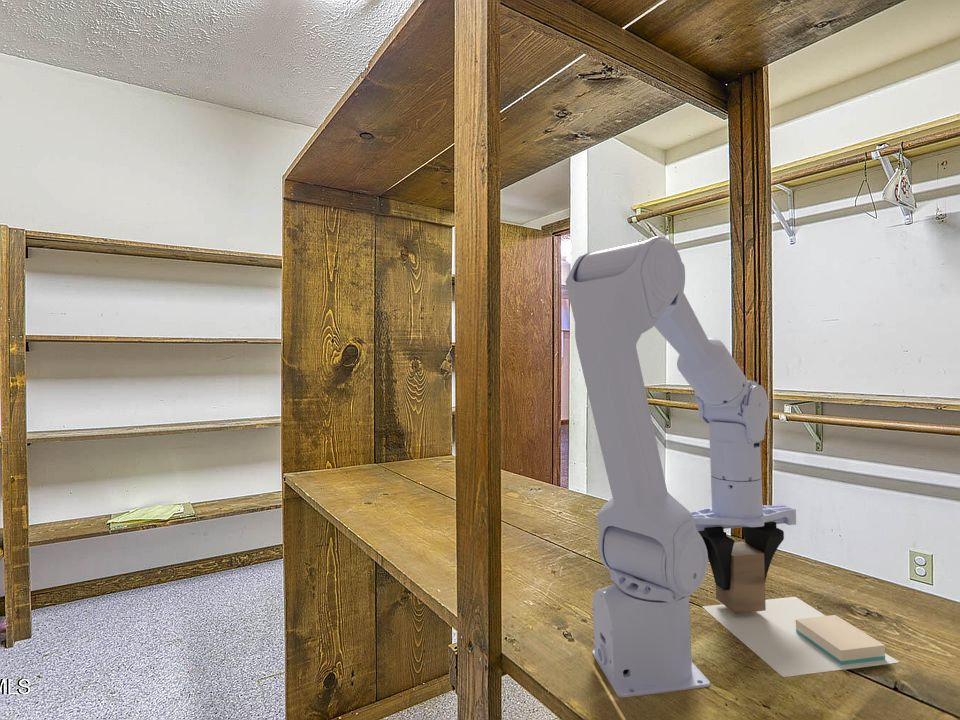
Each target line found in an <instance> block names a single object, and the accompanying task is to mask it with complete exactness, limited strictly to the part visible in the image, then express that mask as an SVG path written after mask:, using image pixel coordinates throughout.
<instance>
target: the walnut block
mask: <svg viewBox="0 0 960 720" xmlns="http://www.w3.org/2000/svg"><path fill="white" fill-rule="evenodd" d="M730 576H731V583H730V590H723V589H722V588H720V587H719V586H718V585H716V584H715V600H717V601H719V602H720V603H721V604H723V605H725V606H726V607H727V608H728V609H730V610H731V611H732V612H733V613H735V614H739V613H748V612H756V611H765V610H766V604H765V600H766V581H765V568H764V553H763V552H761V551H759V550H757V549H756V548H754V547H752V546H750V545H749V544H747V543H745V541H736V542H734V545H733V549H732V554H731V562H730Z"/></svg>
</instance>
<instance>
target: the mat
mask: <svg viewBox="0 0 960 720" xmlns="http://www.w3.org/2000/svg"><path fill="white" fill-rule="evenodd" d="M765 604H766V610H765V611H756V612H748V613H739V614H735V613H733V612H732V611H731V610H730V609H728V608H727V607H726V606H725V605H723V604H722V603H721V604H713V605H712V604H711V605H703V606H702V605H701V608H702V609H703V610H705V611H706V612H707V613H708V614H709V615H710V616H712V618H714V619H715V620H717V622H719V623H720V624H721V626H723V627H724V628H725V629H727V630H728V631H729V632H730V633H731V634H732V635H734V636H735V637H736V638H737V639H738V640H739V641H740V642H741V643H743V644H744V645H745V646H747V647H748V649H750V650H751V652H753V653H754V654H755V655H757V656H758V658H760V659H761V660H762V661H763V662H765V664H767V665H768V666H769V667H770V668H772V670H774V671H775V672H776V673H777V674H779V676H781V677H782V678H789V677H796V676H803V675H813V674H821V673H828V672H829V673H830V672H836V671H843V670H851V669H859V668H860V669H861V668H867V667H868V668H869V667H875V666H876V667H877V666H883V665H892V664H899V663H900V661H899V660H897V659H895V658H894V657H892V656H891V655H889V654H888V653H886V652H885V660H878V661H870V662H862V663H854V664H846V665H841V664H839V663H838V662H837V661H835V660H834V659H832V658H831V657H830V656H828V655H827V654H825V653H824V652H823V651H821V650H820V649H818V648H817V647H816V646H814V645H813V644H812V643H810V642H809V641H807V640H806V639H805V638H803V637H802V636H800V635H799V634H798V633H796V619H803V618H812V617H821V616H826V615H825V614H824V613H822V612H821V611H819V610H818V609H816V608H814V607H813V606H811V605H809V604H808V603H807V602H805V601H803V600H801V599H800V598H798V597H796V596H789V597H779V598H770V599H765Z"/></svg>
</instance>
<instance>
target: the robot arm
mask: <svg viewBox="0 0 960 720" xmlns="http://www.w3.org/2000/svg"><path fill="white" fill-rule="evenodd" d="M569 271H570V272H569V273H568V275H567V277H566V279H565V286H566V290H567V294H568V299H569V304H570V307H571V311H572V316H573V320H574V339H575V344H576V349H577V353H578V358H579V363H580V365H581V366H580V367H581V370H582V375H583V378H584V383H585V387H586V390H587V392H586V393H587V395H588V399H589V404H590V408H591V414H592V415H593V416H592V417H593V420H594V424H595V429H596V434H597V438H598V442H599V446H600V451H601V455H602V458H603V463H604V467H605V472H606V475H607V480H608V484H609V489H610V493H611V496H612V497H611V499H609V500H608V501H607V502H605V503H604V504H603V506H601V509H600V510H599V511H598V512H597V514H596V519H597V521H596V522H597V524H598V538H597V539H598V540H597V549H598V550H597V552H598V556H599V559H600V561H601V563H602V565H603V566H604V567H605V568H607V569H608V570H609V577H610V580H611V581H613V583H611V584H610V585H608V586H606V587H602V588H599V589H596V590H594V592H593V596H592V597H593V598H592V619H593V644H594V645H593V648H594V649H593V650H592V656H593V658H594V659H595V660H596V662H597V663H598V666H599V667H600V669H601V671H602V672H603V674H604V676H605V677H606V678H607V681H608V683H609V684H610V685H611V687H612V689H613V690H614V692H615V694H616V696H617V697H619V698H629V697H639V696H647V695H654V694H661V693H663V694H664V693H668V692H669V693H671V692H679V691H686V690H687V691H688V690H691V689H692V690H694V689H695V690H696V689H700V688H701V689H702V688H708V687H711V681H710V679H708V678H707V676H705V674H703V672H702V671H701V670H700V669H699V668H698V667H697V666H696V664H694V662H693V661H692V641H691V640H692V639H691V637H692V636H691V634H692V633H691V611H690V609H691V608H690V606H691V605H690V596H691V595H693V594H694V593H695V592H696V591H697V590H698V589H699V588H700V587H701V585H702V584H703V582H704V579H705V578H706V575H707V573H708V572H707V570H708V566H709V565H710V568H711V571H712V575H713V579H714V582H715V586H716V585H718V586H719V587H720V588H722V589H723V590H730V583H731V576H730V562H731V554H732V549H733V545H734V542H735V540H734V539H732V538H731V537H729V536H727V532H726V531H724V530H725V529H726V530H727V529H736V528H737V529H738V528H741V529H742V534H743V538H744V542H745V543H747V544H749V545H750V546H752V547H754V548H756V549H757V550H759V551H761V552H763V553H764V568H765V582H766V581H767V576H768V573H769V569H770V566H771V563H772V560H773V557H774V555H775V553H776V552H777V550H778V548H779V547H780V545H781V543H782V542H783V541H784V540H785V533H784V530H783V529H781V528H778V527H777V525H783V524H785V525H787V526H792V525H793V526H794V525H797V510H796V509H795V508H793V507H790V506H788V505H785V504H782V505H781V504H779V505H772V504H771V505H768V504H767V505H763V477H762V476H763V475H762V450H761V448H762V447H761V441H764V440H765V436H766V422H767V420H768V415H769V412H770V411H769V409H770V401H769V400H768V399H769V398H768V394H767V392H766V389H765V388H764V387H763V385H761V384H758V382H756V380H748V378H747V377H746V376H745V374H744V372H743V371H742V370H741V368H740V367H739V365H738V364H737V361H735V359H734V357H733V356H732V354H731V353H730V351H729V350H728V348H727V347H726V345H725V344H724V342H723V341H721V340H719V339H717V338H714V337H708V335H707V334H706V332H705V331H704V329H703V327H702V325H701V323H700V321H699V319H698V317H697V315H696V313H695V312H694V310H693V308H692V305H691V304H690V302H689V300H688V298H687V297H686V294H685V293H684V291H685V284H686V268H685V264H684V262H683V261H682V258H681V255H680V253H679V251H678V249H677V248H676V246H675V245H674V243H673V242H671V240H669V239H668V238H667V237H664V236H654V237H653V236H652V237H651V238H649V239H647V240H644V241H643V240H642V241H639V242H634V243H631V244H626V245H622V246H617V247H613V248H609V249H608V248H607V249H604V250H598V251H589V252H584V253H583V254H581V255H579V256H578V257H577V258H576V260H575V262H574V263H573V265H572V266H571V269H570V270H569ZM653 327H654V328H655V329H656V330H657V332H659V333H660V335H661V336H662V337H663V338H664V339H665V340H666V341H667V342H668V343H669V345H670V346H671V347H672V348H673V349H674V350H675V352H676V353H677V354H678V357H677V362H676V366H677V370H678V372H680V374H681V376H682V377H683V379H685V381H686V382H687V384H688V385H689V386H690V387H691V389H692V390H693V392H694V399H695V401H696V403H697V409H698V410H697V411H698V414H699V417H700V420H702V421H703V422H704V423H707V424H708V433H709V457H710V459H709V464H710V465H709V466H710V487H711V489H710V492H711V493H710V494H711V506H710V507H707V508H702V509H698V510H695V511H689V509H687V508H686V507H685V506H684V505H683V504H682V503H681V502H679V500H677V499H676V498H674V497H673V496H672V494H670V492H668V489H667V485H666V479H665V475H664V470H663V466H662V461H661V455H660V452H659V448H658V447H659V446H658V443H657V438H656V433H655V429H654V423H653V419H652V415H651V411H650V410H651V409H650V405H649V400H648V396H647V392H646V387H645V383H644V377H643V373H642V368H641V363H640V359H639V354H638V350H637V343H638V341H639V340H640V337H641V336H642V334H644V333H646V332H647V331H649V330H651V329H652V328H653ZM708 563H709V565H708Z"/></svg>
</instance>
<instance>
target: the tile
mask: <svg viewBox="0 0 960 720" xmlns="http://www.w3.org/2000/svg"><path fill="white" fill-rule="evenodd" d="M796 633H798V634H799V635H800V636H802V637H803V638H805V639H806V640H807V641H809V642H810V643H812V644H813V645H814V646H816V647H817V648H818V649H820V650H821V651H823V652H824V653H825V654H827V655H828V656H830V657H831V658H832V659H834V660H835V661H837V662H838V663H839V664H841V665H846V664H854V663H862V662H870V661H878V660H885V653H886V645H885V644H884V643H882V642H880V641H879V640H877V639H875V638H874V637H872V636H870V635H869V634H868V633H865V632H864V631H862V630H860V629H859V628H858V627H856V626H855V625H852V624H851V623H849V622H848V621H846V620H845V619H842V618H841V617H839V616H838V615H836V614H833V615H825V616H821V617H812V618H803V619H796Z"/></svg>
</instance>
